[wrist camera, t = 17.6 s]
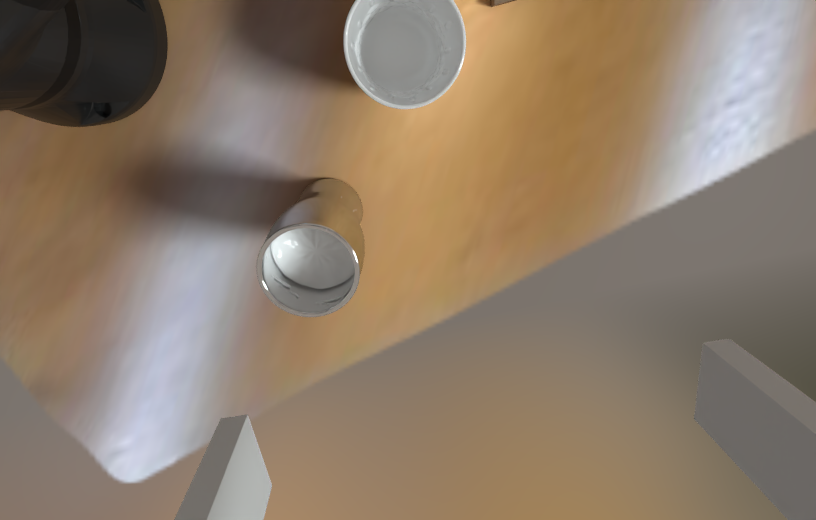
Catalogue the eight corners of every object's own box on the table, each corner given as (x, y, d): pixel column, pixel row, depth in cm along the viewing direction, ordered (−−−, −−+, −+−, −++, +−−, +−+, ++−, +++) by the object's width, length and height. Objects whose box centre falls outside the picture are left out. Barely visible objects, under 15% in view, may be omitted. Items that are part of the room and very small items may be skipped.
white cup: (350, -3, 37) (341, -30, 28) (447, 1, 37) (470, -25, 28) (352, 101, 40) (344, 107, 31) (442, 103, 40) (462, 110, 31)
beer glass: (350, 255, 45) (338, 334, 31) (282, 227, 44) (237, 297, 30) (379, 192, 43) (380, 246, 29) (309, 160, 41) (274, 201, 28)
